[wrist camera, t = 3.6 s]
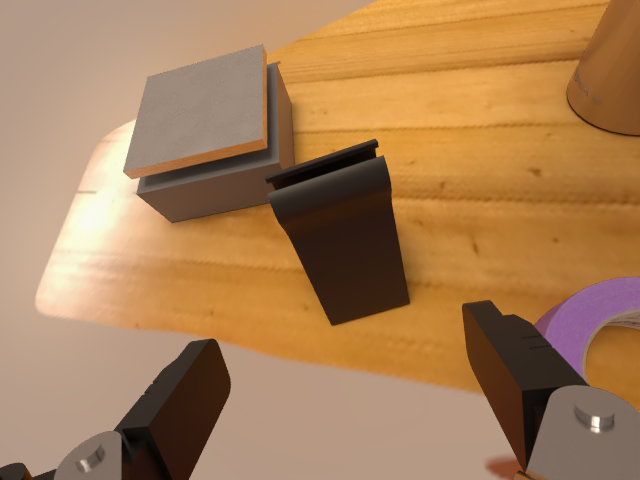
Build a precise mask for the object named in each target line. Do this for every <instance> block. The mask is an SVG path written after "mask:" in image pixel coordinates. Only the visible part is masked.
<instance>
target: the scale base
mask: <svg viewBox="0 0 640 480" xmlns="http://www.w3.org/2000/svg"><path fill="white" fill-rule="evenodd" d="M292 166H295V162H294V144H293V127H292V109H291V101H290V99H289V96H288V93H287V90H286V88H285V85H284V82H283V80H282V77H281V74H280V71H279V69H278V66H277V63H272V64H268V65H267V148H265V149H261V150H257V151H252V152H248V153H244V154H239V155H235V156H231V157H226V158H222V159H218V160H213V161H209V162H205V163H200V164H196V165H192V166H187V167H183V168H179V169H174V170H170V171H166V172H162V173H157V174H153V175H149V176H144V177H140V181H139V185H138V190H137V195H138V196H139V197H140V198H142V199H143V200H144V201H145V202H147V203H148V204H149V205H150V206H152V207H153V208H154V209H155V210H156V211H158V212H159V213H160V214H161V215H163V216H164V217H165V218H166V219H168V220H169V221H170V222H171V223H173V222H178V221H183V220H187V219H192V218H197V217H202V216H207V215H212V214H217V213H222V212H227V211H232V210H237V209H242V208H246V207H251V206H256V205H261V204H266V203H270V200H269V197H268V193H271V192H274V191H275V188H274V187H273V185H272V183H269V184H267V183H266V181H265V176H266V175H268V174H271V173H274V172H277V171H280V170H283V169H286V168H289V167H292Z"/></svg>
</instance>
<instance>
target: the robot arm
mask: <svg viewBox="0 0 640 480" xmlns="http://www.w3.org/2000/svg"><path fill="white" fill-rule="evenodd" d="M567 97H568V100H569V103H570V105H571V107H572V108H573V109H574V110H575V112H576V113H577V114H578V115H580V116H581V117H582V118H583V119H585V120H586V121H588V122H590V123H592V124H594V125H596V126H597V127H600V128H603V129H606V130H609V131H613V132H618V133H623V134H632V135H640V0H610V2H609V4H608V6H607V8H606V10H605V12H604V14H603V16H602V18H601V20H600V22H599V24H598V26H597V28H596V30H595V32H594V34H593V36H592V38H591V40H590V42H589V44H588V46H587V48H586V50H585V52H584V54H583V56H582V58H581V60H580V62H579V64H578V66H577V68H576V70H575V72H574V74H573V76H572V78H571V80H570V82H569V84H568V88H567ZM462 312H463V322H464V331H465V340H466V348H467V354H468V358H469V361H470V364H471V367H472V370H473V372H474V374H475V376H476V378H477V380H478V382H479V384H480V386H481V388H482V390H483V392H484V394H485V396H486V398H487V400H488V402H489V404H490V406H491V407H492V410H493V412H494V414H495V416H496V418H497V419H498V421H499V423H500V425H501V427H502V429H503V431H504V433H505V435H506V437H507V439H508V441H509V443H510V445H511V447H512V449H513V451H514V453H515V455H516V457H517V459H518V461H519V463H520V465H521V467H522V469H523V471H524V473H523V472H521V471H518V472H517V473H516V475H515V476H514V479H513V480H640V413H639V412H638V411H637V410H636V409H635V408H634V407H633V406H632V405H630V404H629V403H628V402H626V401H625V400H623V399H622V398H620V397H618V396H616V395H614V394H612V393H610V392H607V391H605V390H601V389H598V388H594V387H590V386H589V385H588V383H587V382H586V381H585V380H584V379H583V378H582V377H581V376H580V375H579V374H578V373H577V372H576V371H575V370H574V369H573V367H572V366H571V365H570V364H569V363H568V362H567V361H566V360H565V359H564V358H563V357H562V356H561V355H560V354H559V352H558V351H557V350H556V349H555V348H552V345H551V344H550V343H549V342H548V341H547V340H546V339H545V338H543V336H542V334H541V333H540V332H539V331H538V330H537V329H536V328H535V327H534V326H533V325H532V324H531V323H530V322H528V321H526V320H524V319H522V318H520V317H518V316H516V315H514V314H512V315H504V316H503V315H502V314H501V312H500V311H499V310H498V309H497V308H496V306H495V305H494V304H493V303H492V302H491V301H490V300H486V301H479V302H471V303H464V304H463V306H462ZM230 388H231V382H230V376H229V373H228V370H227V367H226V364H225V362H224V359H223V356H222V353H221V350H220V347H219V345H218V343H217V341H216V340H215V339H205V340H198V341H192V342H190V343H189V344H188V345H187V346H186V348H185V349H184V350H183V352H182V353H181V354H180V355H179V357H178V358H177V359H176V360H175V361H173V362H172V363H171V364H169V365H168V366H167V367H166V368H164V369H163V370H162V371H161V372H160V374H159V375H158V376H157V378H156V379H155V380H154V381H153V384H151V385H150V386H149V387H148V389H147V390H146V391H145V394H144V395H142V396H141V397H140V398H139V400H138V401H137V402H136V403H135V405H134V406H133V407H132V408H131V409H130V411H129V412H128V413H127V414H126V416H125V417H124V418H123V419H122V421H121V422H120V423H119V424H118V425H117V427H116V428H115V429H114V430H113V431H107V432H103V433H100V434H97V435H95V436H93V437H91V438H89V439H88V440H86V441H84V442H83V443H81V444H80V445H79V446H77V447H76V448H75V449H74V450H72V451H71V452H70V453H69V454H68V455H67V456H66V457H65V458H64V460H63V461H62V462H61V464H60V465H59V466H58V468H57V469H55V470H52V471H49V472H46V473H43V474H41V475H38V476H35V477H32V476H31V475H30V473H29V471H28V470H27V468H26V466H25V465H24V464H23V463H13V464H9V465H6V466H4V467H2V468H0V480H189V478H190V476H191V474H192V472H193V469H194V468H195V465H196V463H197V461H198V459H199V457H200V455H201V453H202V451H203V448H204V446H205V445H206V442H207V440H208V438H209V436H210V434H211V432H212V430H213V428H214V426H215V424H216V422H217V420H218V417H219V415H220V413H221V411H222V409H223V407H224V405H225V403H226V401H227V399H228V397H229V394H230Z"/></svg>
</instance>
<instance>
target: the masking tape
mask: <svg viewBox="0 0 640 480" xmlns="http://www.w3.org/2000/svg"><path fill="white" fill-rule="evenodd" d="M603 326H622V327H630V328H634V329H638V330H640V277H624V278H616V279H611V280H606V281H603V282H600V283H596V284H594V285H591V286H589V287H587V288H585V289H583V290H581V291H579V292H577V293H576V294H574V295H573V296H571V297H570V298H568V299H566V300H565V301H563V302H562V303H560V304H559V305H557V306H555V307H554V308H552V309H551V310H550V311H548V312H547V313H546V314H545V315H544V316H543V317H541V318H540V320H539V321H538V322H537V323H536V324H535V326H534V327H535V328H536V329H537V330H538V331H539V332H540V333H541V334H542V336H543V338H545V339H546V340H547V341H548V342H549V343H550V344H551V345H552V348H555V349H556V350H557V351H558V352H559V354H560V355H561V356H562V357H563V358H564V359H565V360H566V361H567V362H568V363H569V364H570V365H571V366H572V367H573V369H574V370H575V371H576V372H577V373H578V374H579V375H580V376H581V377H582V378H583V379H584V380H585V381H586V382H587V383H588V380H587V375H586V356H587V351H588V348H589V345H590V343H591V341H592V340H593V338H594V336H595V335H596V333H597V332H598V331H599V330H600V329H601V328H602V327H603Z"/></svg>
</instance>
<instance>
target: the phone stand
mask: <svg viewBox="0 0 640 480" xmlns="http://www.w3.org/2000/svg"><path fill="white" fill-rule="evenodd" d="M377 147H379V146H378V142H377V140H376V139H373V140H370V141H367V142H364V143H361V144H358V145H355V146H352V147H349V148H346V149H343V150H340V151H337V152H334V153H331V154H328V155H325V156H322V157H319V158H316V159H313V160H310V161H307V162H304V163H301V164H298V165H295V166H292V167H289V168H286V169H283V170H280V171H277V172H274V173H271V174H268V175H266V176H265V181H266V183H267V184H269V183H272V185H273V187H274V188H275V191H274V192H271V193H268V197H269V200H270V203H271V206H272V209H273V211H274V214H275V216H276V218H277V220H278V222H279V224H280V225H281V227H282V228H283V229H284V230H285V232H286V233H287V235H288V236H289V238H290V240H291V242H292V244H293V246H294V248H295V250H296V253H297V255H298V257H299V259H300V261H301V263H302V265H303V267H304V269H305V271H306V273H307V275H308V278H309V280H310V282H311V284H312V286H313V288H314V290H315V292H316V294H317V296H318V298H319V300H320V303H321V305H322V307H323V309H324V311H325V313H326V315H327V317H328V319H329V321H330V323H331V325H334V324H338V323H341V322H345V321H348V320H352V319H355V318H359V317H362V316H366V315H369V314H373V313H376V312H380V311H383V310H387V309H390V308H394V307H397V306H401V305H404V304H408V303H410V302H409V296H408V291H407V285H406V280H405V274H404V269H403V263H402V258H401V252H400V246H399V241H398V235H397V230H396V224H395V219H394V213H393V207H392V198H391V193H392V189H391V181H390V176H389V172H388V168H387V165H386V161H385V158H384V155H383V156H380V157H377V158H376V151H375V148H377Z"/></svg>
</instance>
